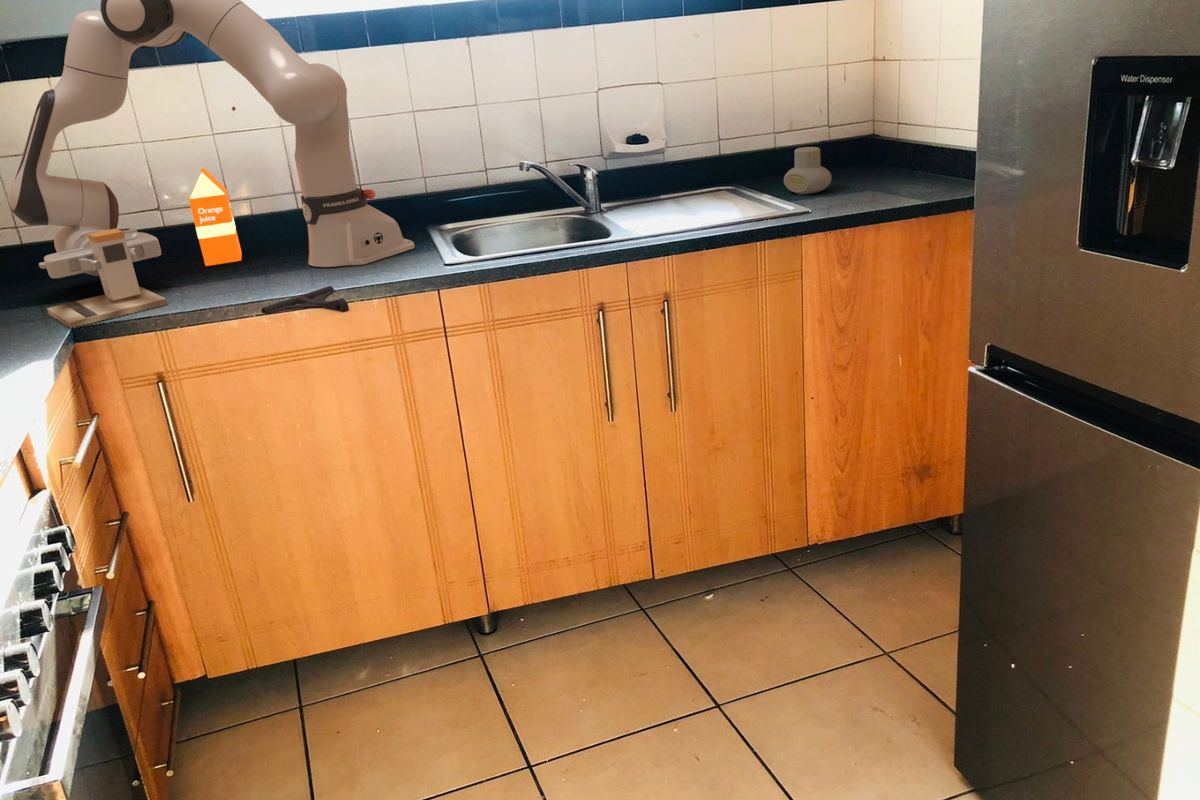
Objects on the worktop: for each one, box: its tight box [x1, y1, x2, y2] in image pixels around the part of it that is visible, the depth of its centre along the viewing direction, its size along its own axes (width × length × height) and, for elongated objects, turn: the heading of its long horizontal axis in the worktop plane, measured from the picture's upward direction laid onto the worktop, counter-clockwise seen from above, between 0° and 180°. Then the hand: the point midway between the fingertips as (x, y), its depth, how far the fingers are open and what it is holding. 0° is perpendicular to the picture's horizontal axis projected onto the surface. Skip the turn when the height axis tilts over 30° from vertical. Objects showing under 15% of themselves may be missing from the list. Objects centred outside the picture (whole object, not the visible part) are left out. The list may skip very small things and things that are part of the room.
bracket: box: [260, 285, 350, 315], centre depth 167 cm, size 14×15×3 cm
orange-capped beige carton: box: [87, 228, 141, 300], centre depth 178 cm, size 5×5×12 cm
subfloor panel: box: [46, 286, 168, 329], centre depth 179 cm, size 17×16×1 cm
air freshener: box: [783, 146, 833, 196], centre depth 221 cm, size 11×8×10 cm
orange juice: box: [188, 166, 243, 267], centre depth 208 cm, size 8×9×20 cm
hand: (114, 261), depth 177 cm, fingers closed on orange-capped beige carton, 5 cm apart
